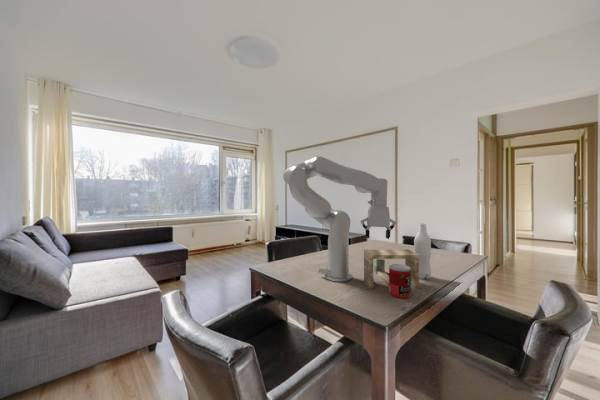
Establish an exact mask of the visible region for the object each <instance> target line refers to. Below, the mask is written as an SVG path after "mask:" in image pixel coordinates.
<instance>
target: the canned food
mask: <svg viewBox="0 0 600 400" xmlns="http://www.w3.org/2000/svg"><path fill="white" fill-rule="evenodd" d="M388 270H389V271H388V276H389V286H388V287H389V288H388V291H389V295H390V296H391V297H394V298H396V299H400V300H401V299H402V300H407V299H409V298H410V297H411V293H412V289H411V288H412V286H411V268H410V267H409V266H406V265H405V264H402V263H401V264H399V263H392V264H389V265H388Z"/></svg>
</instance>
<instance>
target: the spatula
mask: <svg viewBox="0 0 600 400" xmlns="http://www.w3.org/2000/svg"><path fill="white" fill-rule="evenodd" d="M385 263H386V259H373V273H375V274H377V275H378V277H379V278H380V279H381V280H383V282H384V283H385V284H386V286H388V287H389V274H388V273H387V272H385V270H386V267H385Z"/></svg>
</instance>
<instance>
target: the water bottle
mask: <svg viewBox="0 0 600 400" xmlns="http://www.w3.org/2000/svg"><path fill="white" fill-rule="evenodd" d="M417 229H418V232H417V233H416V234H415V235H416V236H415V237H414V239H413V243H414V244H413V246H414V248H413V252H414V253H416V254H418V255H419V280H425V279H427V280H428V279H429V278H431V275H432V268H431V255H432V241H431V238H430V235H429V234H428V232H427V223H419V224H418V228H417Z"/></svg>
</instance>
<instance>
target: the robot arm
mask: <svg viewBox="0 0 600 400" xmlns="http://www.w3.org/2000/svg"><path fill="white" fill-rule="evenodd" d="M282 176H283V177H282V178H283V181H284V182H285V183H286V184H287V185H288V186H289V187H288V188H289V191H290V194H291V196H292V198H293V199H294V200H295V201H296V202H297V203H298V204H300V205H301V206H302V207H304V210H305V212H306V214H307V215H308V216H310V217H311V218H312V219H314V220H315V221H316V222H318V223H319V224H321V225H322V226H324V227H326V228H328V229H329V232H328V236H327V237H328V238H327V251H328V252H327V253H328V254H327V257H328V258H327V259H328V260H327V264H328V265H327V266H326V267H325V268H322V267H321V268H318V273H321V274H324V277H325V279H326V280H328V281H330V282H331V281H332V282H337V283H338V282H341V283H342V282H348V281H351V280H352V279H353V274H352V273H350V271H349V270H350V267H349V263H350V261H349V259H350V257H349V256H350V255H349V250H350V249H349V247H350V246H349V244H350V243H349V241H350V240H349V239H350V238H349V235H350V228H351V218H350V215H349V214H348V213H347V212H345V211H343V210H339V209H333V208H332V206H331V203H330V202H329V201H328V200H327V199H326V198H324V197H323V196H321V195H320V194H318V193H317V192H316V191H315V190H313V189H312V188H311V187H310V185H309V182H308V180H309V179H310V178H313V177H315V176H318V177H321V178H323V179H326V180H329V181H331V182H334V183H336V184H340V185H346V186H347V185H348V186H354V189H355V190H356V192H358V193H360V194H370V200H367V204H368V205H369V204H370V205H369V207H368V211H367V217H365V218H363V219H361V220H360V224H361V226H362V227H363V229H364V230H365V233H364V234H365V237H366V238H367V239H370V228H372V227H374V228H385V229H386V231H385V238H386V239H388V240H390V238H391V231H392V230H393V229H394V228H395V226H396V225H397V221H395V220H393V219H391V216H390V215H391V214H390V208H389V207H390V206H388V180H387V179H386V178H378V177H377V176H375V175H373V174H372V173H371V174H370V173H368V172H367V171H363V170H359V169H356V168H352V167H349V166H344V165H343V164H340V163H338V162H336V161H333V160H331V159H329V158H326V157H323V156H320V155H317V156H314V157H311V158H309V159H307V160H305V161H303V162H300V163H299V164H298V163H297V164H295V165H293V166H290V167H288V168H286V169H285V171H284V172H283V175H282ZM366 223H367V224H366Z"/></svg>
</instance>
